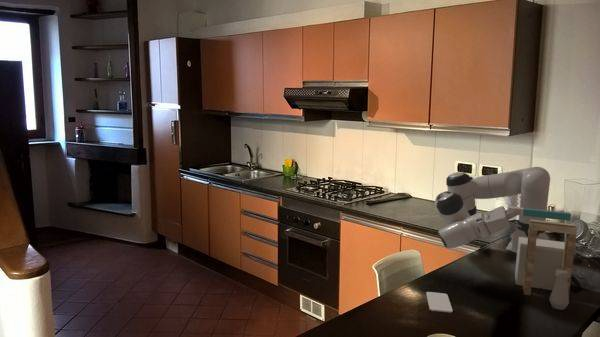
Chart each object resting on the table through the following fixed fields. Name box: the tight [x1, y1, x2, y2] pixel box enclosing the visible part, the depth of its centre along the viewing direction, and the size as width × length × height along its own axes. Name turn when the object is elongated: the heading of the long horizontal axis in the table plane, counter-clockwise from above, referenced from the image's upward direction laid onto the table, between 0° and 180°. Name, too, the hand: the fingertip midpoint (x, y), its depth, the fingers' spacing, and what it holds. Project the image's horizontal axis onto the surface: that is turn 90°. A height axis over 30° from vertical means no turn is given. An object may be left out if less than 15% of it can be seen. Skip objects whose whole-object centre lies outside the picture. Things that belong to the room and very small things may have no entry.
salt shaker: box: [548, 269, 570, 311], centre depth 164 cm, size 6×6×13 cm
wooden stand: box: [522, 219, 578, 296], centre depth 174 cm, size 7×14×26 cm, turn 70°
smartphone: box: [425, 291, 453, 313], centre depth 166 cm, size 7×1×15 cm
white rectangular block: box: [514, 237, 565, 291], centre depth 184 cm, size 10×16×16 cm, turn 70°
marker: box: [507, 206, 572, 222], centre depth 173 cm, size 2×20×2 cm, turn 70°
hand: (519, 210), depth 175 cm, fingers closed on marker, 2 cm apart
